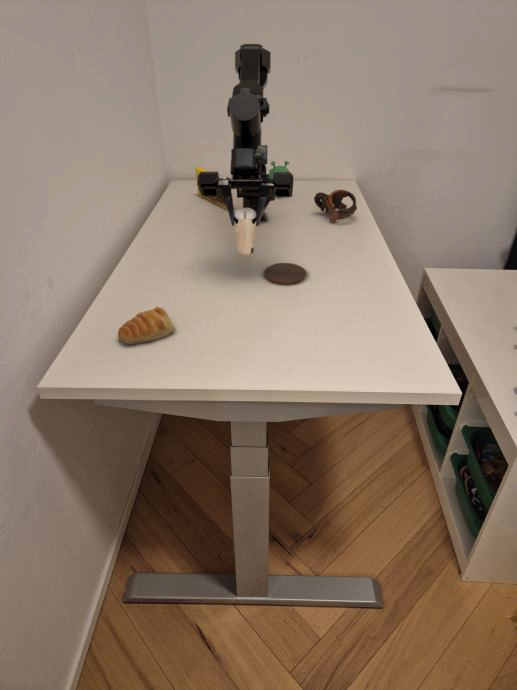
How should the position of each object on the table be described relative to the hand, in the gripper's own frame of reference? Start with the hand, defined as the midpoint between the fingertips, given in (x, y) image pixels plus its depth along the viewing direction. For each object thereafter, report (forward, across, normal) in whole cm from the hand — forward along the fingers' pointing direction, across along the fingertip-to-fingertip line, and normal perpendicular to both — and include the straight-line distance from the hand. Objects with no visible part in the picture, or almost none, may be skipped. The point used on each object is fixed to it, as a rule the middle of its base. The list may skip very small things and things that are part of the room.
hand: (244, 225), depth 92 cm
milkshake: (+4, 0, +6) cm, 7 cm away
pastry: (+23, -16, -6) cm, 29 cm away
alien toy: (-29, +7, +48) cm, 57 cm away
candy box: (-24, -12, +43) cm, 51 cm away
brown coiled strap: (-17, +22, +35) cm, 45 cm away
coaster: (+7, +8, +10) cm, 15 cm away
